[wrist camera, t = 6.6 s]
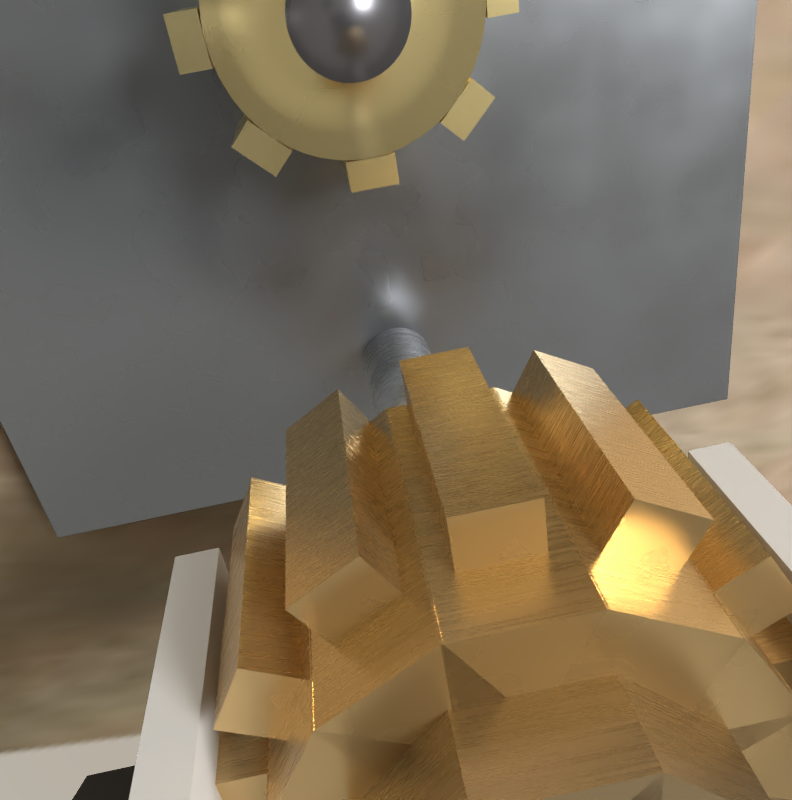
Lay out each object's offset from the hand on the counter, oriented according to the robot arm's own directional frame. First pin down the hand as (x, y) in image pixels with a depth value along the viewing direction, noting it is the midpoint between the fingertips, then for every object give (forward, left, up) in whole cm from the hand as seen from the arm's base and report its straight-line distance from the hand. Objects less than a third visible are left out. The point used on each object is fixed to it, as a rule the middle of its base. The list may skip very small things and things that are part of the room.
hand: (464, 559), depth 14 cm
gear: (0, 0, 0) cm, 0 cm away
